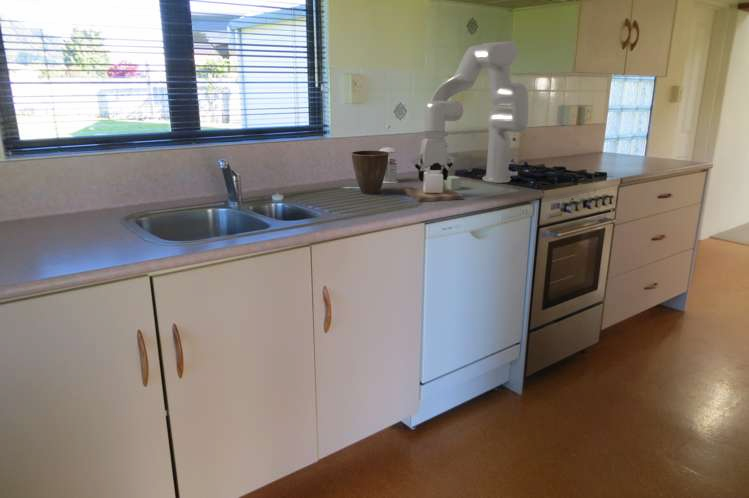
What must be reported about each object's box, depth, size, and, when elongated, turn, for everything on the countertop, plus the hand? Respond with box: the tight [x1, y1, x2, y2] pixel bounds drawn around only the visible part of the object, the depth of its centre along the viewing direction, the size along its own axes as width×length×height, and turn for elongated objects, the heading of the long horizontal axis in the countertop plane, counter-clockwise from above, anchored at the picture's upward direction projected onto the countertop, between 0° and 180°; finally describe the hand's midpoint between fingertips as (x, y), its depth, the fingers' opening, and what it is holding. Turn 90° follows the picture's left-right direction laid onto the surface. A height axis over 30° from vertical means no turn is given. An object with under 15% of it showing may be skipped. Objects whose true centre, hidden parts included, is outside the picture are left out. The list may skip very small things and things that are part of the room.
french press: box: [378, 124, 399, 184], centre depth 230 cm, size 10×12×25 cm
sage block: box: [443, 175, 462, 191], centre depth 220 cm, size 5×5×5 cm
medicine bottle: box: [422, 163, 444, 193], centre depth 205 cm, size 7×7×12 cm
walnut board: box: [403, 186, 464, 203], centre depth 207 cm, size 18×18×2 cm
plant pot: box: [351, 150, 390, 195], centre depth 211 cm, size 15×15×16 cm
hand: (433, 180), depth 205 cm, fingers open, 9 cm apart
